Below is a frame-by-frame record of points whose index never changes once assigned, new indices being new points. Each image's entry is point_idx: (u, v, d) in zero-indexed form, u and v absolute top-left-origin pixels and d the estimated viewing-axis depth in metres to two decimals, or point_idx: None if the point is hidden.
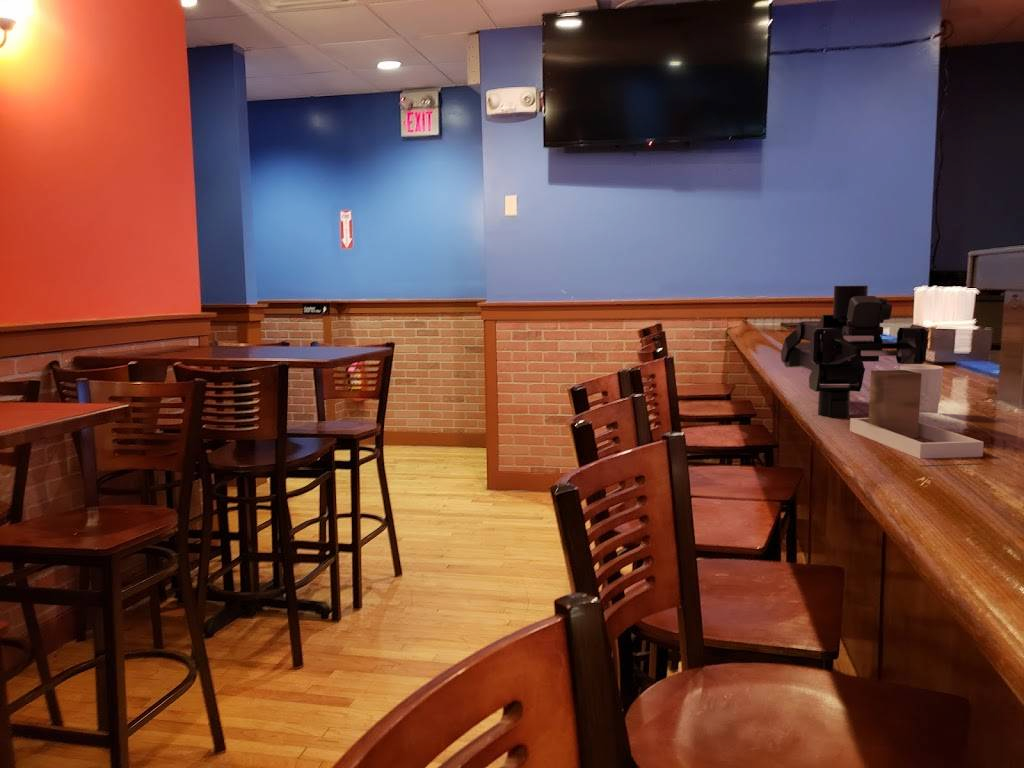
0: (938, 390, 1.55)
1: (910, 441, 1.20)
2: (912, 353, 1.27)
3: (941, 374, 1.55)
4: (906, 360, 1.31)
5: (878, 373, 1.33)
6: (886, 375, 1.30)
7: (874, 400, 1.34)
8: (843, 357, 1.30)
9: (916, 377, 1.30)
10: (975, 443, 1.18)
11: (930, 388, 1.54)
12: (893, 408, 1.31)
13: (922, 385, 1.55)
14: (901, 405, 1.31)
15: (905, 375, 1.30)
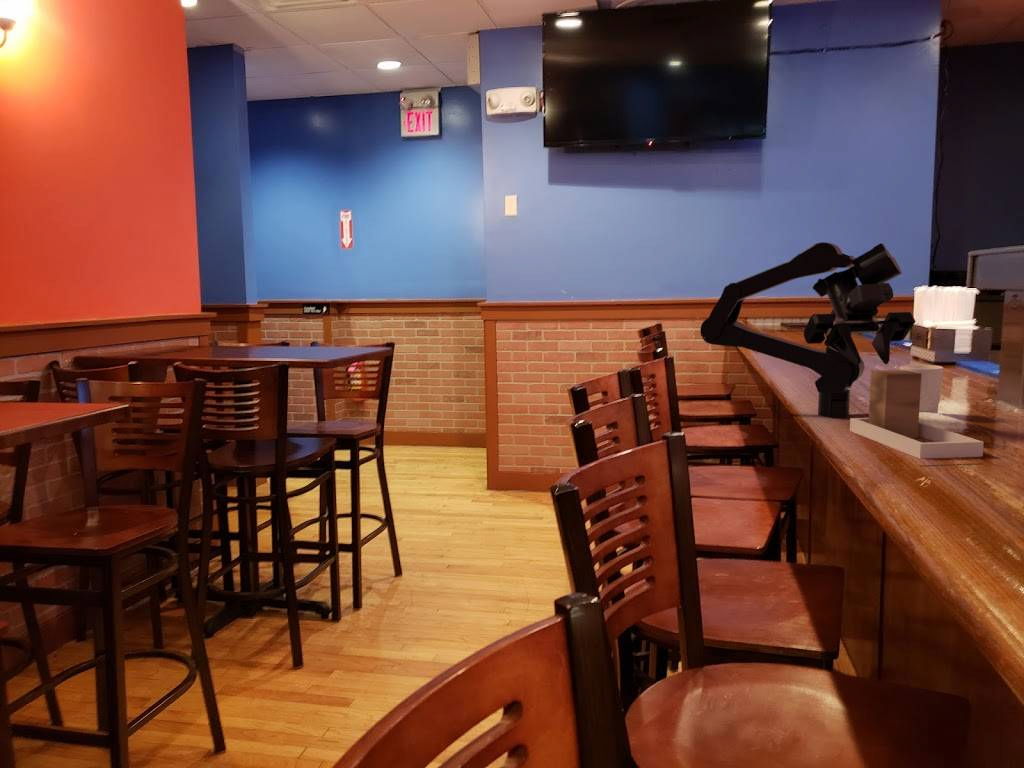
0: (938, 390, 1.55)
1: (910, 441, 1.20)
2: (884, 362, 1.40)
3: (941, 374, 1.55)
4: None
5: (878, 373, 1.33)
6: (886, 375, 1.30)
7: (874, 400, 1.34)
8: (845, 355, 1.42)
9: (916, 377, 1.30)
10: (975, 443, 1.18)
11: (930, 388, 1.54)
12: (893, 408, 1.31)
13: (922, 385, 1.55)
14: (901, 405, 1.31)
15: (905, 375, 1.30)
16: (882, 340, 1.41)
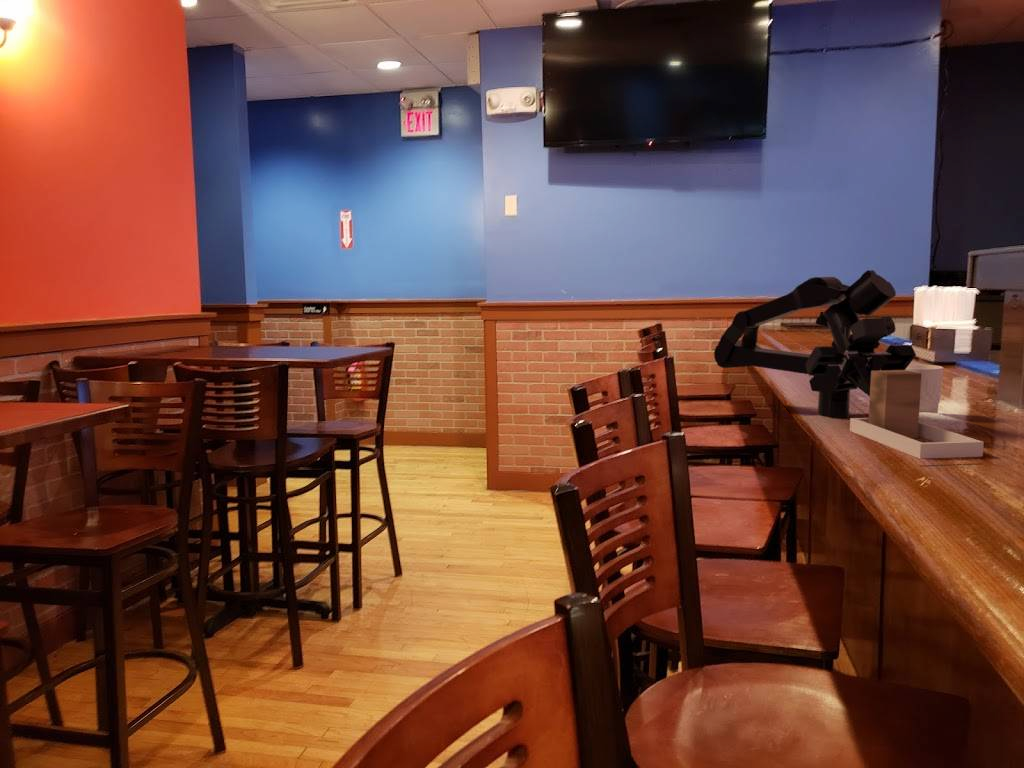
0: (938, 390, 1.55)
1: (910, 441, 1.20)
2: None
3: (941, 374, 1.55)
4: None
5: (878, 373, 1.33)
6: (886, 375, 1.30)
7: (874, 400, 1.34)
8: (859, 388, 1.42)
9: (916, 377, 1.30)
10: (975, 443, 1.18)
11: (930, 388, 1.54)
12: (893, 408, 1.31)
13: (922, 385, 1.55)
14: (901, 405, 1.31)
15: (905, 375, 1.30)
16: None
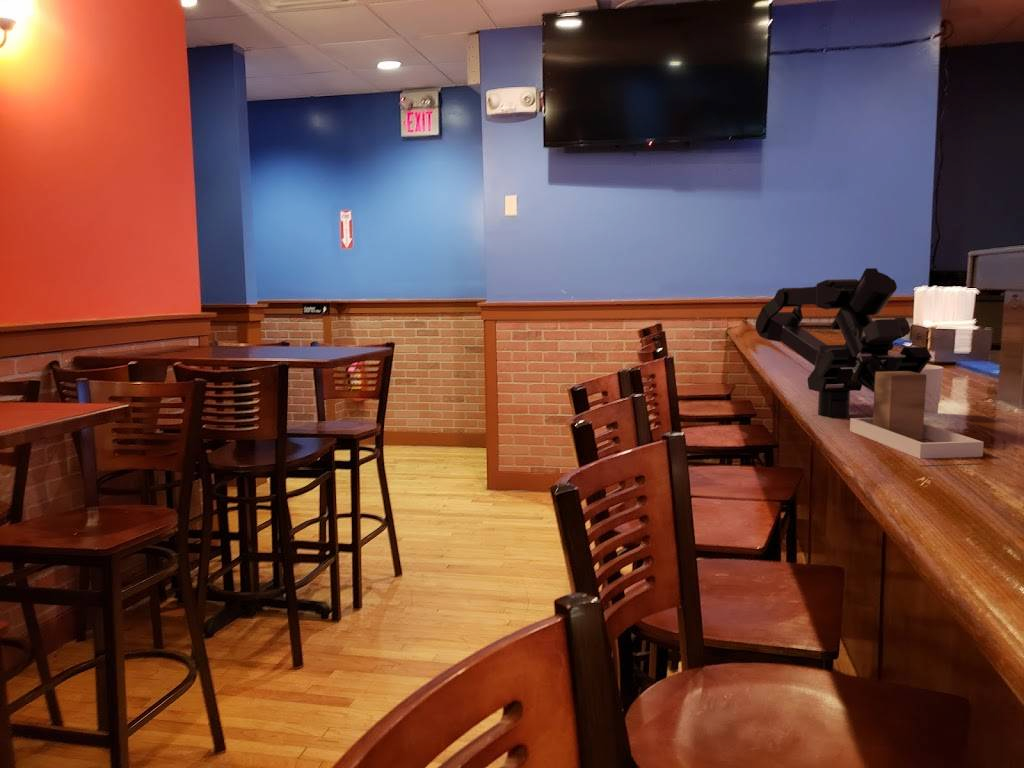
0: (938, 390, 1.55)
1: (910, 441, 1.20)
2: None
3: (941, 374, 1.55)
4: None
5: (882, 374, 1.31)
6: (891, 376, 1.29)
7: (878, 401, 1.33)
8: (873, 391, 1.37)
9: (921, 378, 1.29)
10: (975, 443, 1.18)
11: (930, 388, 1.54)
12: (897, 410, 1.29)
13: None
14: (906, 407, 1.29)
15: (910, 376, 1.29)
16: None
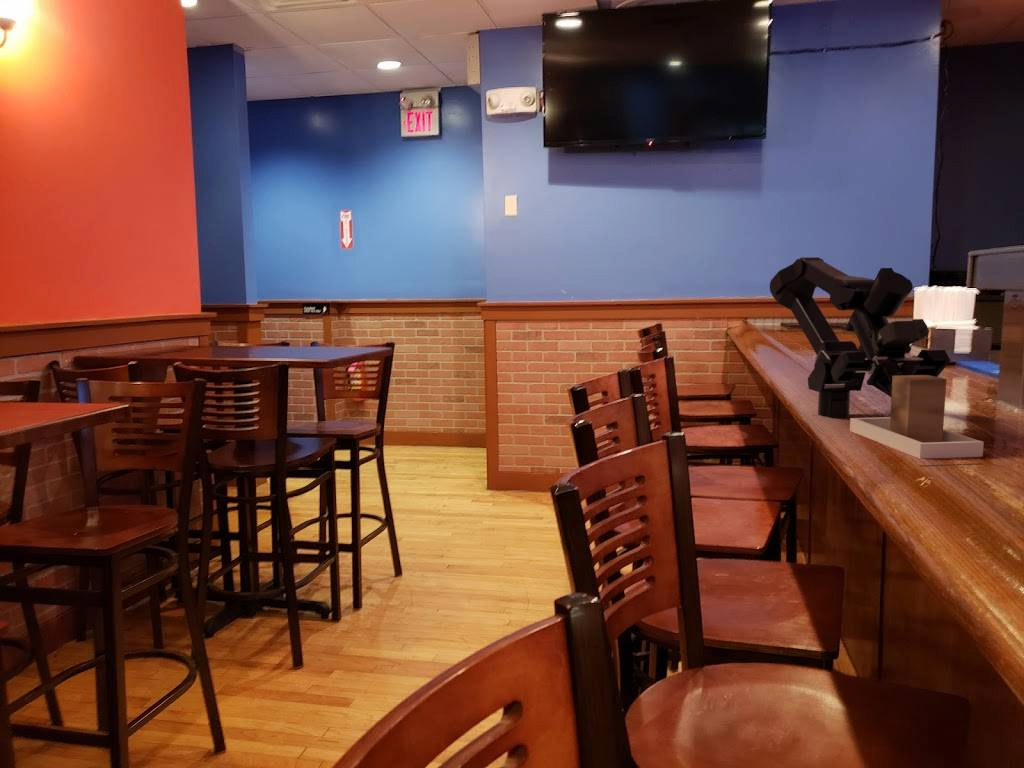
0: None
1: (910, 441, 1.20)
2: None
3: (941, 374, 1.55)
4: None
5: (900, 378, 1.26)
6: (909, 380, 1.24)
7: (896, 407, 1.27)
8: (890, 396, 1.32)
9: (941, 383, 1.24)
10: (975, 443, 1.18)
11: None
12: (916, 415, 1.24)
13: None
14: (925, 412, 1.24)
15: (929, 380, 1.24)
16: None
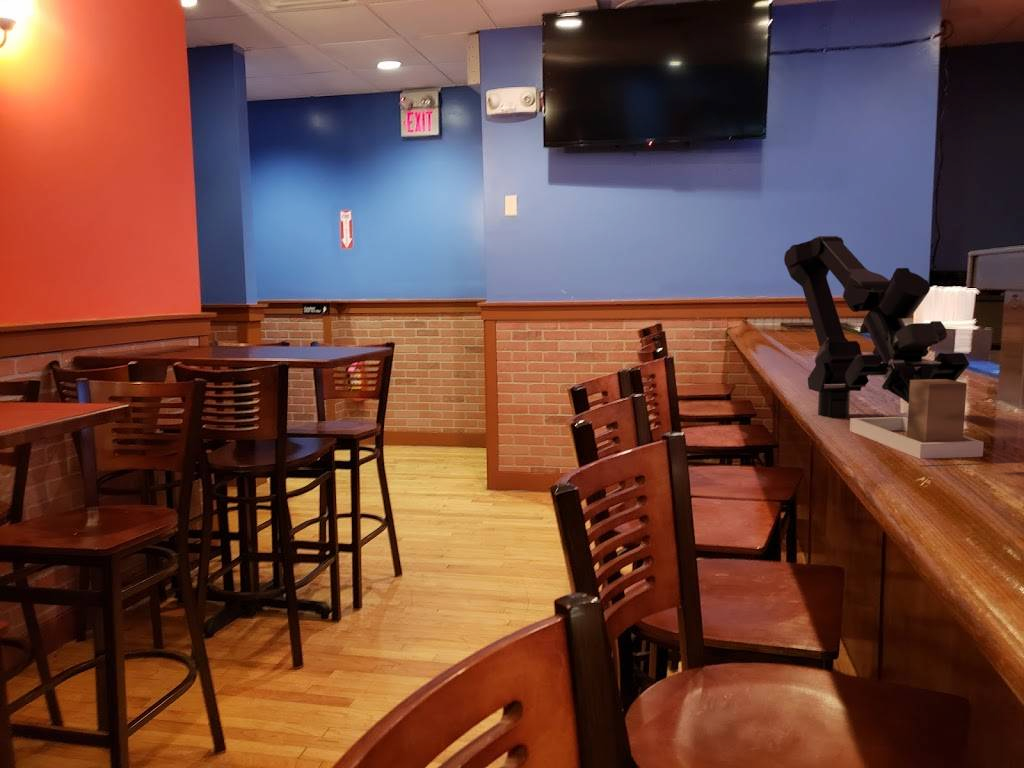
0: None
1: (910, 441, 1.20)
2: None
3: None
4: None
5: (918, 383, 1.21)
6: (928, 385, 1.19)
7: (913, 412, 1.23)
8: (906, 401, 1.27)
9: (961, 387, 1.19)
10: (975, 443, 1.18)
11: None
12: (935, 421, 1.19)
13: None
14: (944, 418, 1.19)
15: (949, 385, 1.19)
16: None
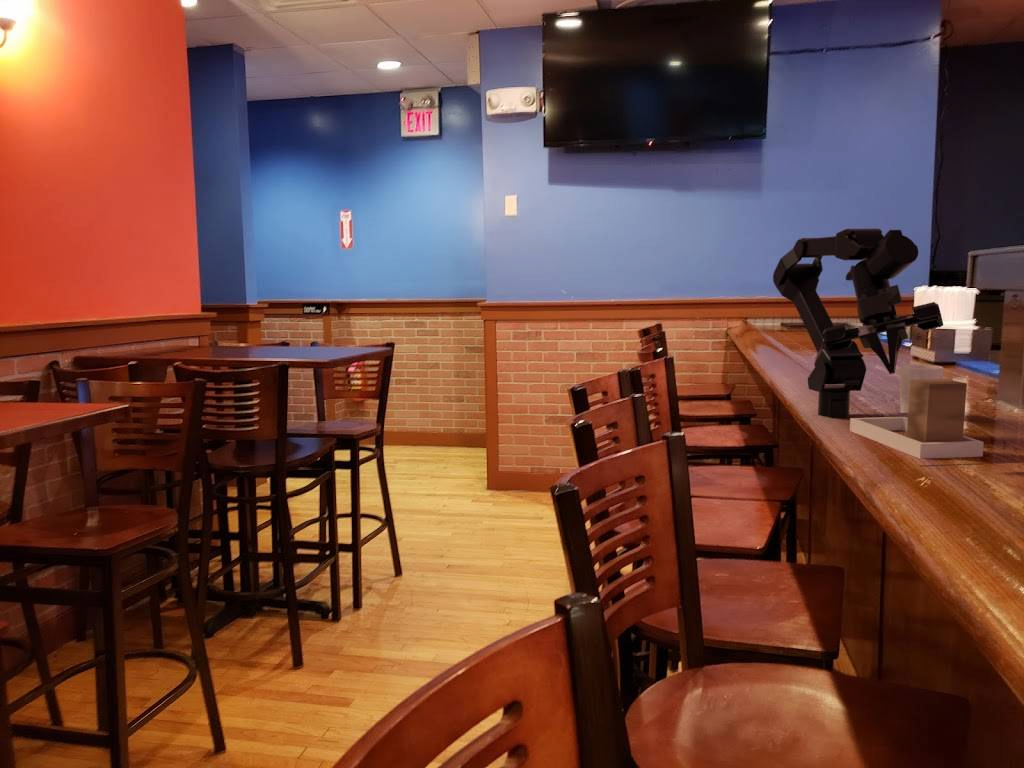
0: None
1: (910, 441, 1.20)
2: None
3: (941, 374, 1.55)
4: None
5: (918, 383, 1.21)
6: (928, 385, 1.19)
7: (913, 412, 1.23)
8: None
9: (961, 387, 1.19)
10: (975, 443, 1.18)
11: None
12: (935, 421, 1.19)
13: None
14: (944, 418, 1.19)
15: (949, 385, 1.19)
16: (888, 347, 1.34)
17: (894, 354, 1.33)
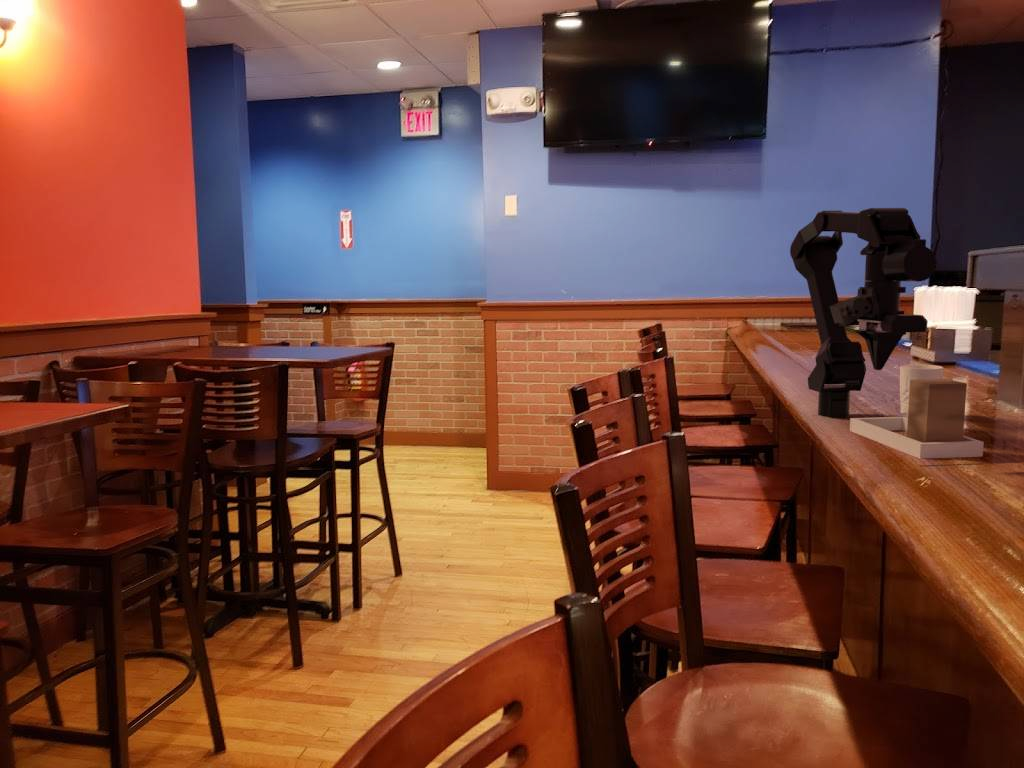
0: None
1: (910, 441, 1.20)
2: None
3: (941, 374, 1.55)
4: None
5: (918, 383, 1.21)
6: (928, 385, 1.19)
7: (913, 412, 1.23)
8: None
9: (961, 387, 1.19)
10: (975, 443, 1.18)
11: None
12: (935, 421, 1.19)
13: None
14: (944, 418, 1.19)
15: (949, 385, 1.19)
16: None
17: (876, 354, 1.37)
